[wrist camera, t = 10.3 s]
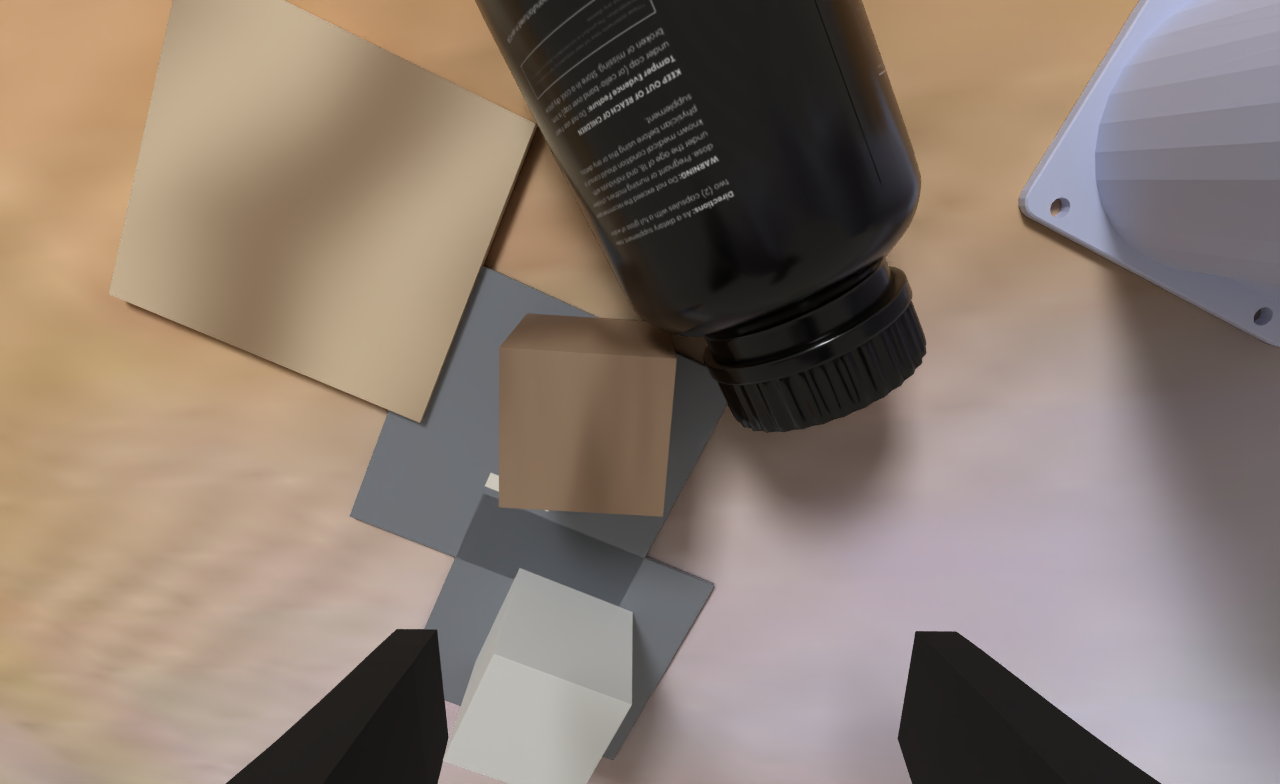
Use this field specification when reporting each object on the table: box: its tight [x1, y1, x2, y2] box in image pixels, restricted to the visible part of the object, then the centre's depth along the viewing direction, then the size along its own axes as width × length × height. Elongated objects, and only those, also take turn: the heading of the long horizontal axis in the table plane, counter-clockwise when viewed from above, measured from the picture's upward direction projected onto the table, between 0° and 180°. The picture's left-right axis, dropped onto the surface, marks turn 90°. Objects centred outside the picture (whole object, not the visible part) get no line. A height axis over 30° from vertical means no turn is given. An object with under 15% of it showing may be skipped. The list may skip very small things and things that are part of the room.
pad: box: [109, 0, 538, 423], centre depth 18 cm, size 9×9×1 cm
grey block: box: [443, 568, 633, 784], centre depth 20 cm, size 4×4×4 cm
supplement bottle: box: [475, 0, 926, 433], centre depth 14 cm, size 7×7×12 cm
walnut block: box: [499, 313, 677, 517], centre depth 17 cm, size 4×4×4 cm
